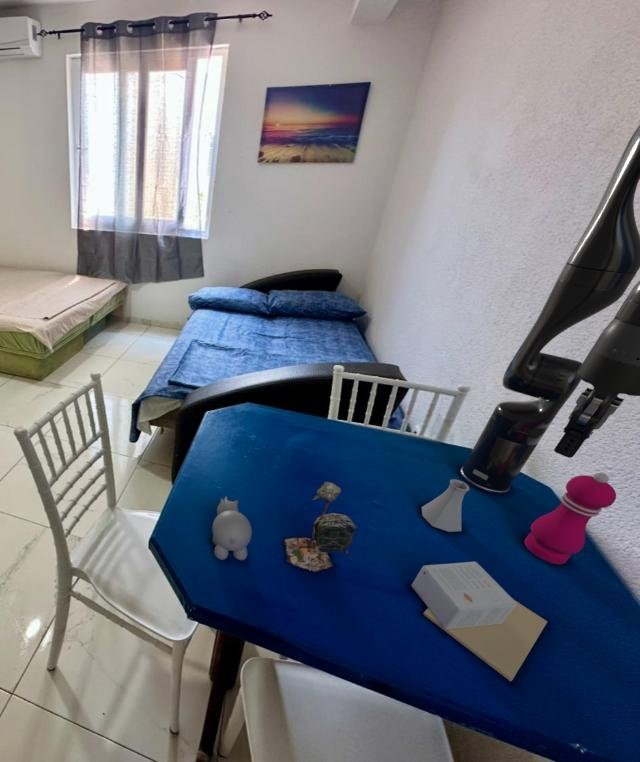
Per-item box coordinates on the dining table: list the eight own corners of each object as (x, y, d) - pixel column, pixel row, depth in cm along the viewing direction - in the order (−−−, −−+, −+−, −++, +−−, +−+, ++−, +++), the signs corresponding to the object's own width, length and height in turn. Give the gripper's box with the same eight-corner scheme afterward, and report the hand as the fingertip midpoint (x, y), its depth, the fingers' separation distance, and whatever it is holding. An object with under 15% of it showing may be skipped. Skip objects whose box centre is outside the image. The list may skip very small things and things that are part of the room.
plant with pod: (347, 585, 73) (384, 503, 63) (281, 564, 76) (307, 484, 67) (343, 549, 80) (376, 471, 70) (282, 532, 83) (306, 455, 73)
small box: (462, 580, 74) (409, 584, 72) (476, 560, 71) (421, 564, 70) (502, 625, 67) (444, 630, 66) (519, 604, 64) (459, 609, 63)
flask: (467, 536, 83) (490, 500, 79) (429, 529, 85) (448, 494, 80) (450, 510, 90) (470, 475, 85) (415, 504, 91) (432, 470, 86)
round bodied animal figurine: (240, 517, 86) (247, 486, 82) (249, 566, 76) (258, 534, 72) (206, 513, 87) (211, 483, 83) (210, 562, 76) (216, 530, 72)
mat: (463, 569, 76) (464, 567, 76) (545, 623, 68) (547, 621, 67) (422, 614, 68) (424, 612, 68) (510, 681, 60) (512, 679, 59)
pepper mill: (556, 542, 83) (616, 466, 73) (577, 571, 77) (645, 493, 67) (514, 532, 85) (566, 456, 75) (531, 560, 79) (591, 482, 69)
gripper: (663, 376, 50) (583, 482, 58) (680, 354, 57) (606, 452, 65) (581, 354, 56) (518, 454, 64) (605, 336, 62) (546, 429, 70)
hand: (563, 453), depth 64 cm, fingers closed
